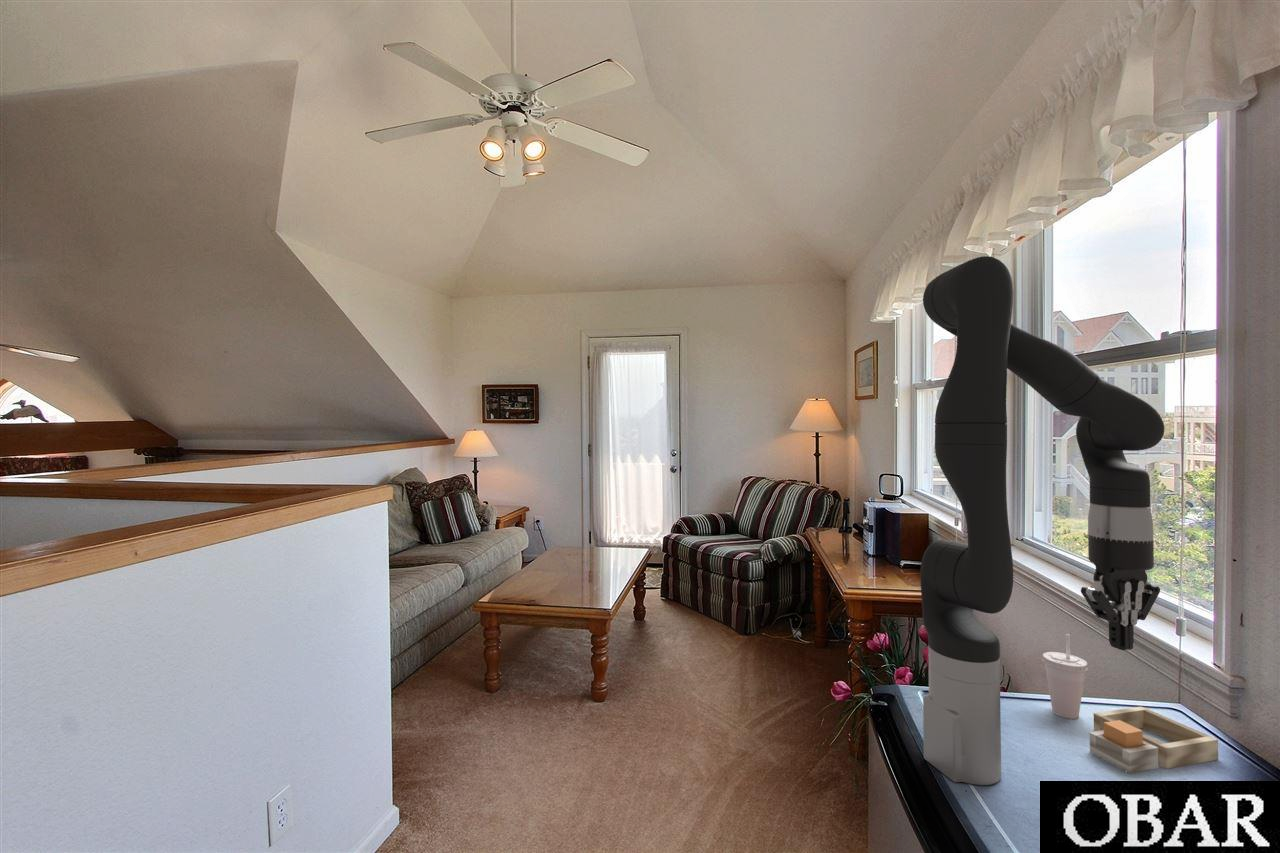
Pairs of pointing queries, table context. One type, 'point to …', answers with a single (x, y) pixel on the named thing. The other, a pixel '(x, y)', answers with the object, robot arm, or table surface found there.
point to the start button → (1123, 734)
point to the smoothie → (1065, 681)
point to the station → (1152, 742)
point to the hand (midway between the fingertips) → (1121, 647)
